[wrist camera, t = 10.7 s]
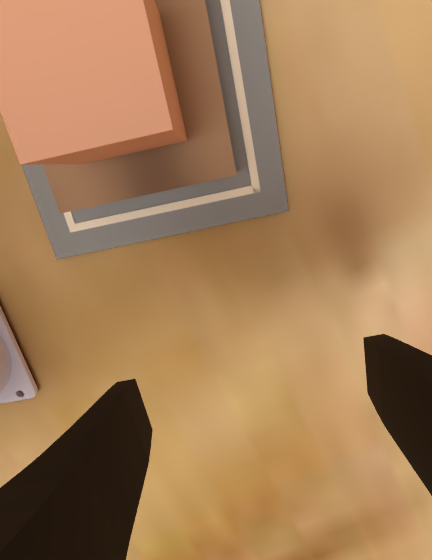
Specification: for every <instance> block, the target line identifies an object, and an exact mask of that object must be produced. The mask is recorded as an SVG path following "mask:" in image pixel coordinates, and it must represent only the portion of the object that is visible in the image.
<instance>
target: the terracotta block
mask: <svg viewBox="0 0 432 560" xmlns="http://www.w3.org/2000/svg"><path fill="white" fill-rule="evenodd" d="M0 112H1V115H2V117H3V120H4V123H5V125H6V128H7V131H8V133H9V136H10V139H11V141H12V144H13V147H14V149H15V152H16V155H17V157H18V160H19V163H20V165H32V164H87V163H91V162H95V161H100V160H104V159H109V158H113V157H117V156H122V155H126V154H131V153H135V152H140V151H144V150H148V149H153V148H157V147H162V146H166V145H170V144H175V143H179V142H184V141H187V136H186V131H185V127H184V122H183V118H182V113H181V109H180V104H179V99H178V95H177V90H176V86H175V81H174V77H173V72H172V67H171V63H170V58H169V54H168V49H167V45H166V40H165V35H164V31H163V26H162V22H161V17H160V13H159V10H158V8H157V5H156V3H155V0H0Z"/></svg>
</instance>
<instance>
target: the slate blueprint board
mask: <svg viewBox="0 0 432 560" xmlns="http://www.w3.org/2000/svg"><path fill="white" fill-rule="evenodd" d="M205 3H206V8H207V14H208V19H209V25H210V30H211V36H212V41H213V47H214V52H215V58H216V63H217V69H218V74H219V80H220V85H221V91H222V96H223V102H224V107H225V113H226V118H227V124H228V129H229V135H230V140H231V146H232V151H233V157H234V162H235V168H236V173H237V175H235V176H230V177H226V178H221V179H216V180H212V181H207V182H203V183H198V184H194V185H189V186H184V187H180V188H175V189H171V190H166V191H162V192H157V193H152V194H148V195H143V196H139V197H134V198H130V199H125V200H120V201H116V202H111V203H107V204H102V205H98V206H93V207H88V208H84V209H79V210H75V211H70V212H65V213H61V214H60V212H59V209H58V206H57V203H56V201H55V198H54V195H53V192H52V189H51V186H50V184H49V181H48V178H47V175H46V172H45V170H44V167H43V164H32V165H22V168H23V171H24V173H25V176H26V179H27V181H28V184H29V187H30V189H31V192H32V195H33V197H34V200H35V203H36V205H37V208H38V211H39V213H40V216H41V219H42V221H43V224H44V227H45V229H46V232H47V235H48V237H49V240H50V243H51V245H52V248H53V251H54V253H55V256H56V259H62V258H67V257H72V256H77V255H81V254H86V253H91V252H96V251H101V250H105V249H110V248H115V247H120V246H125V245H129V244H134V243H139V242H144V241H148V240H153V239H158V238H163V237H168V236H172V235H177V234H182V233H187V232H192V231H196V230H201V229H206V228H211V227H215V226H220V225H225V224H230V223H235V222H239V221H244V220H249V219H254V218H259V217H263V216H268V215H273V214H278V213H282V212H287V211H289V210H288V203H287V195H286V188H285V181H284V174H283V167H282V159H281V152H280V145H279V138H278V131H277V123H276V116H275V109H274V102H273V95H272V87H271V80H270V73H269V66H268V58H267V51H266V44H265V37H264V30H263V22H262V15H261V8H260V1H259V0H205Z"/></svg>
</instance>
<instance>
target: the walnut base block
mask: <svg viewBox="0 0 432 560" xmlns="http://www.w3.org/2000/svg"><path fill="white" fill-rule="evenodd" d="M155 3H156V5H157V8H158V10H159V13H160V17H161V22H162V26H163V31H164V35H165V40H166V45H167V49H168V54H169V58H170V63H171V67H172V72H173V77H174V81H175V86H176V90H177V95H178V99H179V104H180V109H181V113H182V118H183V122H184V127H185V131H186V136H187V141H184V142H179V143H175V144H170V145H166V146H162V147H157V148H153V149H148V150H144V151H140V152H135V153H131V154H126V155H122V156H117V157H113V158H109V159H104V160H100V161H95V162H91V163H87V164H43V167H44V170H45V172H46V175H47V178H48V181H49V184H50V186H51V189H52V192H53V195H54V198H55V201H56V203H57V206H58V209H59V212H60V214H61V213H65V212H70V211H75V210H79V209H84V208H88V207H93V206H98V205H102V204H107V203H111V202H116V201H120V200H125V199H130V198H134V197H139V196H143V195H148V194H152V193H157V192H162V191H166V190H171V189H175V188H180V187H184V186H189V185H194V184H198V183H203V182H207V181H212V180H216V179H221V178H226V177H230V176H235V175H237V173H236V168H235V162H234V157H233V151H232V146H231V140H230V135H229V129H228V124H227V118H226V113H225V107H224V102H223V96H222V91H221V85H220V80H219V74H218V69H217V63H216V58H215V52H214V47H213V41H212V36H211V30H210V25H209V19H208V14H207V8H206V3H205V0H155Z"/></svg>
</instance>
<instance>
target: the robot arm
mask: <svg viewBox="0 0 432 560" xmlns="http://www.w3.org/2000/svg"><path fill="white" fill-rule="evenodd" d="M364 351H365V364H366V377H367V390H368V395H369V397H370V399H371V401H372V403H373V405H374V407H375V409H376V411H377V413H378V415H379V417H380V418H381V420H382V422H383V424H384V426H385V427H386V429H387V430H388V432H389V433H390V435H391V436H392V438H393V439H394V441H395V442H396V444H397V445H398V447H399V448H400V450H401V451H402V452H403V454H404V455H405V457H406V458H407V460H408V461H409V463H410V464H411V466H412V467H413V469H414V470H415V472H416V473H417V475H418V476H419V478H420V479H421V480H422V482H423V483H424V485H425V486H426V488H427V489H428V491H429V492H430V494H431V495H432V355H430V354H427V353H425V352H423V351H421V350H419V349H417V348H415V347H412V346H410V345H408V344H406V343H404V342H402V341H399V340H397V339H395V338H393V337H390V336H388V335H385V334H381V335H376V336H370V337H364ZM20 391H22V392H23V393H21V392H20ZM37 392H38V388H37V386H36V384H35V381H34V379H33V377H32V375H31V373H30V370H29V368H28V366H27V364H26V362H25V359H24V357H23V355H22V353H21V350H20V348H19V346H18V344H17V342H16V339H15V337H14V335H13V333H12V331H11V328H10V326H9V324H8V322H7V320H6V317H5V315H4V313H3V311H2V308H1V306H0V404H3V403H8V402H14V401H19V400H25V399H31V398H33V397H34V396H35V395H36V394H37ZM151 439H152V427H151V424H150V421H149V418H148V415H147V412H146V409H145V406H144V403H143V400H142V397H141V394H140V391H139V388H138V385H137V382H136V380H135V379H132V380H126V381H121V382H117V383H115V384H114V385H113V386H112V387H111V388H110V389H109V390H108V391H107V392H106V393H105V394H104V395H103V396H102V397H101V398H100V399H99V400H98V401H97V402H96V403H95V404H94V405H93V406H92V407H91V408H90V409H89V410H88V411H87V412H86V413H85V414H84V415H83V416H82V417H80V418H79V419H78V420H77V421H76V422H75V423H74V424H73V425H72V426H71V427H70V428H69V429H68V430H67V431H66V432H65V433H64V434H63V435H62V436H61V437H60V438H59V439H57V440H56V441H55V442H54V443H53V444H52V445H51V446H50V447H49V448H48V449H47V450H46V451H44V452H43V453H42V454H41V455H40V456H39V457H38V458H37V459H35V460H34V461H33V462H32V463H31V464H29V465H28V466H27V467H26V468H25V469H23V470H22V471H21V472H20V473H18V474H17V475H16V476H15V477H13V478H12V479H11V480H10V481H8V482H7V483H6V484H5V485H3V486H2V487H1V488H0V560H126V556H127V551H128V546H129V541H130V537H131V533H132V529H133V525H134V521H135V517H136V513H137V508H138V504H139V500H140V496H141V492H142V488H143V484H144V480H145V476H146V472H147V467H148V463H149V456H150V448H151Z"/></svg>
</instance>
